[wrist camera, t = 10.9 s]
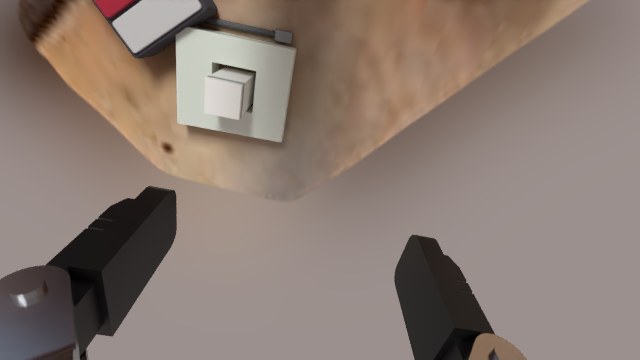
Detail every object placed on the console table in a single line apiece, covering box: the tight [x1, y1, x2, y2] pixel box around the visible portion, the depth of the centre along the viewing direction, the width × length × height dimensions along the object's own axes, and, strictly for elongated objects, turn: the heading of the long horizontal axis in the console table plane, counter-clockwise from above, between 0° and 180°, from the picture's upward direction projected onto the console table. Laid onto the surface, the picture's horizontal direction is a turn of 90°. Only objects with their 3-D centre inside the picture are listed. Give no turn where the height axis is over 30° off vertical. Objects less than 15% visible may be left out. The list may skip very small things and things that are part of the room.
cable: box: [204, 17, 293, 44], centre depth 38 cm, size 1×12×1 cm, turn 78°
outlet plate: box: [176, 26, 297, 142], centre depth 40 cm, size 12×14×3 cm
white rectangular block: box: [204, 67, 256, 120], centre depth 38 cm, size 4×4×8 cm
